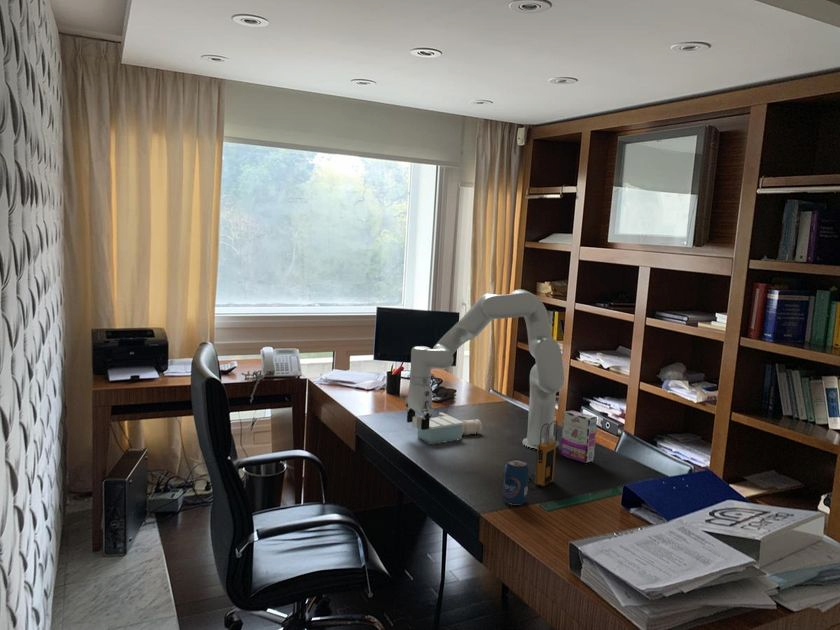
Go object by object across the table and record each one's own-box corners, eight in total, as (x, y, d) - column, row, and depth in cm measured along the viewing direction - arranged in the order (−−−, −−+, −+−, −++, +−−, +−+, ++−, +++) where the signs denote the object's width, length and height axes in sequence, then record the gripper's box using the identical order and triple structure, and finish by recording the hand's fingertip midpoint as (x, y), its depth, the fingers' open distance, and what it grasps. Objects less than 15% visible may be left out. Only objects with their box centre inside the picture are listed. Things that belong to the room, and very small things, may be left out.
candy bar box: (594, 462, 220) (598, 416, 218) (586, 465, 217) (589, 419, 215) (568, 453, 229) (571, 409, 227) (559, 455, 226) (563, 411, 224)
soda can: (498, 502, 183) (500, 462, 181) (508, 495, 188) (511, 456, 187) (520, 509, 179) (523, 468, 177) (530, 501, 185) (533, 461, 183)
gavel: (428, 420, 271) (459, 437, 241) (428, 406, 271) (460, 422, 241) (450, 419, 274) (483, 436, 245) (450, 405, 274) (484, 420, 244)
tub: (461, 439, 239) (462, 424, 238) (430, 444, 231) (431, 428, 230) (447, 432, 246) (448, 417, 245) (417, 437, 238) (418, 422, 238)
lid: (463, 424, 238) (464, 415, 237) (421, 430, 227) (422, 421, 227) (448, 417, 246) (449, 408, 245) (407, 423, 236) (407, 414, 235)
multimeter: (531, 470, 210) (535, 411, 208) (558, 478, 204) (563, 418, 201) (508, 482, 199) (512, 420, 196) (536, 491, 192) (541, 427, 190)
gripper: (442, 384, 225) (439, 431, 227) (416, 374, 239) (413, 418, 242) (424, 386, 221) (422, 433, 223) (399, 376, 235) (397, 420, 237)
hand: (417, 425), depth 232 cm, fingers open, 9 cm apart
